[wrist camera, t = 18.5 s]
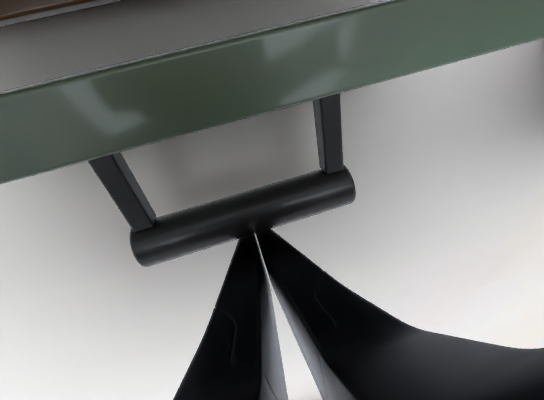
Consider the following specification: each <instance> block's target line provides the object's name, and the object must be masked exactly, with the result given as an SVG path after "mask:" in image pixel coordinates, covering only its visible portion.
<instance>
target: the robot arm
mask: <svg viewBox="0 0 544 400" xmlns="http://www.w3.org/2000/svg"><path fill="white" fill-rule="evenodd" d="M256 235H257V239H258V242H259V246H260V249H261V252H262V255H263V259H264V262H265V265H266V268H267V271H268V274H269V278H270V281H271V284H272V286H273V289H274V291H275V293H276V296H277V298H278V300H279V302H280V305H281V307H282V309H283V311H284V313H285V316H286V318H287V320H288V322H289V325H290V327H291V329H292V331H293V333H294V336H295V338H296V340H297V342H298V345H299V347H300V349H301V351H302V354H303V356H304V358H305V360H306V362H307V365H308V367H309V369H310V371H311V374H312V376H313V378H314V380H315V383H316V385H317V387H318V389H319V391H320V394H321V396H322V398H323V400H544V348H539V349H518V348H511V347H504V346H499V345H494V344H489V343H484V342H479V341H474V340H469V339H464V338H459V337H454V336H449V335H443V334H438V333H433V332H428V331H424V330H421V329H418V328H415V327H413V326H410V325H408V324H406V323H404V322H402V321H400V320H399V319H397V318H395V317H394V316H392V315H390V314H389V313H387V312H385V311H384V310H382V309H380V308H379V307H377V306H375V305H374V304H372V303H370V302H369V301H367V300H365V299H364V298H362V297H361V296H359V295H357V294H356V293H354V292H353V291H351V290H350V289H348V288H346V287H345V286H344V285H342V284H341V283H339V282H338V281H337V280H335V279H334V278H333V277H331V276H330V275H329V274H328V273H326V272H325V271H323V270H322V269H321V268H320V267H319V266H317V265H316V264H315V263H313V262H312V261H311V260H310V259H308V258H307V257H306V256H305V255H303V254H302V253H301V252H299V251H298V250H297V249H296V248H294V247H293V246H292V245H291V244H289V243H288V242H287V241H286V240H284V239H283V238H282V237H280V236H279V235H278V234H277V233H275V232H274V231H273V230H272V229H268V230H265V231H261V232H258V233H256ZM173 400H288V396H287V390H286V384H285V377H284V371H283V365H282V358H281V352H280V346H279V340H278V333H277V327H276V321H275V314H274V308H273V302H272V296H271V290H270V285H269V281H268V278H267V274H266V271H265V267H264V264H263V261H262V257H261V254H260V250H259V247H258V244H257V241H256V238H255V235H254V234H252V235H249V236H245V237H242V238H239V241H238V243H237V246H236V249H235V252H234V255H233V257H232V260H231V263H230V266H229V268H228V271H227V274H226V277H225V280H224V282H223V285H222V288H221V291H220V294H219V296H218V299H217V302H216V305H215V308H214V310H213V313H212V316H211V319H210V321H209V324H208V326H207V329H206V331H205V334H204V336H203V338H202V341H201V343H200V345H199V347H198V349H197V351H196V354H195V356H194V358H193V360H192V362H191V364H190V366H189V368H188V370H187V372H186V374H185V376H184V378H183V380H182V382H181V385H180V387H179V389H178V391H177V393H176V395H175V397H174V399H173Z"/></svg>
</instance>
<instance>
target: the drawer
mask: <svg viewBox="0 0 544 400" xmlns="http://www.w3.org/2000/svg"><path fill="white" fill-rule="evenodd" d="M117 1H122V0H0V27H1V26H6V25H10V24H15V23H20V22H24V21H29V20H33V19H38V18H43V17H47V16H52V15H57V14H61V13H66V12H71V11H75V10H80V9H85V8H89V7H94V6H98V5H103V4H108V3H112V2H117ZM542 38H544V0H384V1H380V2H375V3H371V4H367V5H363V6H359V7H354V8H350V9H346V10H342V11H337V12H333V13H329V14H325V15H321V16H316V17H312V18H308V19H304V20H300V21H295V22H291V23H287V24H283V25H278V26H274V27H270V28H266V29H262V30H257V31H253V32H249V33H245V34H241V35H236V36H232V37H228V38H224V39H220V40H215V41H211V42H207V43H203V44H198V45H194V46H190V47H186V48H182V49H177V50H173V51H169V52H165V53H161V54H156V55H152V56H148V57H144V58H139V59H135V60H131V61H127V62H123V63H118V64H114V65H110V66H106V67H102V68H97V69H93V70H89V71H85V72H80V73H76V74H72V75H68V76H64V77H59V78H55V79H51V80H47V81H43V82H38V83H34V84H30V85H26V86H22V87H17V88H13V89H9V90H5V91H0V184H3V183H7V182H11V181H14V180H18V179H22V178H26V177H29V176H33V175H37V174H40V173H44V172H48V171H52V170H55V169H59V168H63V167H67V166H70V165H74V164H78V163H81V162H85V161H88V162H89V164H90V165H91V167H92V168H93V170H94V171H95V173H96V174H97V176H98V177H99V179H100V180H101V182H102V184H103V185H104V187H105V188H106V190H107V191H108V193H109V194H110V196H111V197H112V199H113V200H114V202H115V203H116V205H117V206H118V208H119V209H120V211H121V213H122V214H123V216H124V217H125V219H126V220H127V222H128V223H129V225H130V226H131V231H130V245H131V249H132V252H133V254H134V256H135V258H136V260H137V261H138V262H139V264H141V265H142V266H144V267H149V266H153V265H156V264H159V263H162V262H165V261H169V260H172V259H175V258H178V257H181V256H185V255H188V254H191V253H194V252H197V251H201V250H204V249H207V248H210V247H213V246H217V245H220V244H223V243H226V242H229V241H233V240H236V239H239V238H242V237H245V236H249V235H252V234H255V233H258V232H261V231H265V230H268V229H271V228H274V227H277V226H281V225H284V224H287V223H290V222H293V221H297V220H300V219H303V218H306V217H309V216H313V215H316V214H319V213H322V212H325V211H329V210H332V209H335V208H338V207H341V206H345V205H348V204H351V203H352V202H353V201H354V200H355V195H356V192H355V185H354V181H353V178H352V176H351V174H350V172H349V170H348V169H347V168H346V167H345V166H344V165H343V152H342V130H341V107H340V93H342V92H345V91H349V90H353V89H357V88H360V87H364V86H368V85H372V84H375V83H379V82H383V81H386V80H390V79H394V78H398V77H401V76H405V75H409V74H412V73H416V72H420V71H424V70H427V69H431V68H435V67H438V66H442V65H446V64H450V63H453V62H457V61H461V60H465V59H468V58H472V57H476V56H479V55H483V54H487V53H491V52H494V51H498V50H502V49H505V48H509V47H513V46H517V45H520V44H524V43H528V42H531V41H535V40H539V39H542ZM312 100H313V106H314V116H315V125H316V135H317V145H318V155H319V165H320V168H321V169H320V170H317V171H313V172H310V173H307V174H303V175H300V176H296V177H293V178H290V179H286V180H283V181H280V182H276V183H273V184H269V185H266V186H263V187H259V188H256V189H253V190H249V191H246V192H242V193H239V194H236V195H232V196H229V197H225V198H222V199H219V200H215V201H212V202H209V203H205V204H202V205H198V206H195V207H192V208H188V209H185V210H182V211H178V212H175V213H171V214H168V215H165V216H161V217H158V218H156V214H155V213H154V211H153V209H152V207H151V206H150V204H149V202H148V200H147V198H146V197H145V195H144V193H143V191H142V190H141V188H140V186H139V184H138V183H137V181H136V179H135V177H134V175H133V174H132V172H131V170H130V168H129V167H128V165H127V163H126V161H125V160H124V158H123V156H122V154H121V152H122V151H126V150H130V149H133V148H137V147H141V146H145V145H148V144H152V143H156V142H160V141H163V140H167V139H171V138H174V137H178V136H182V135H186V134H189V133H193V132H197V131H200V130H204V129H208V128H212V127H215V126H219V125H223V124H226V123H230V122H234V121H238V120H241V119H245V118H249V117H252V116H256V115H260V114H264V113H267V112H271V111H275V110H279V109H282V108H286V107H290V106H293V105H297V104H301V103H305V102H308V101H312Z"/></svg>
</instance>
